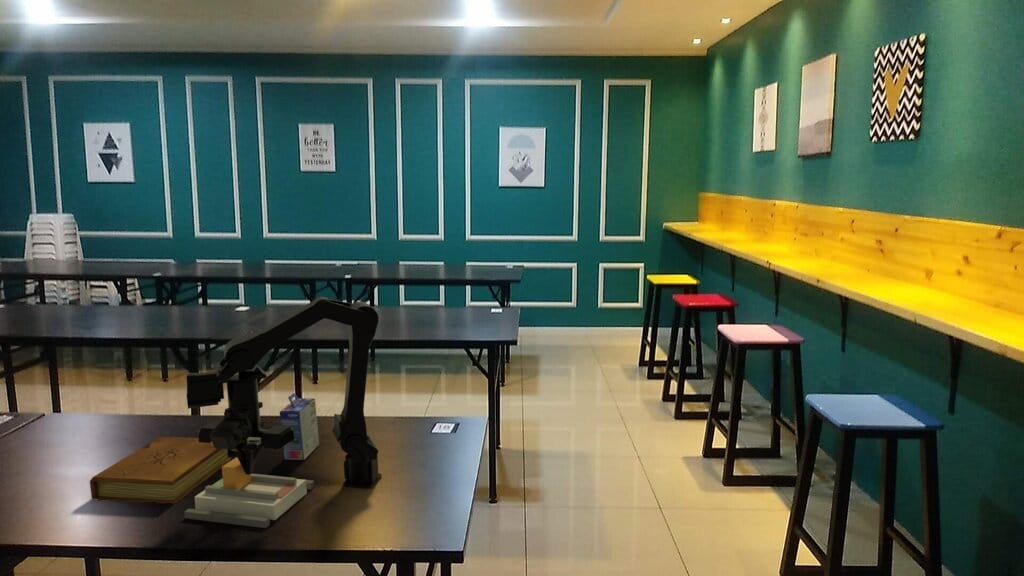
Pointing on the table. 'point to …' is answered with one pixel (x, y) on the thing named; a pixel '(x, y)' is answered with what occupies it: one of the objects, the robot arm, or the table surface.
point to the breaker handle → (234, 475)
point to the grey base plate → (233, 515)
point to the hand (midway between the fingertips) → (249, 474)
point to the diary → (159, 471)
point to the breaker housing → (253, 496)
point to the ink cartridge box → (300, 427)
